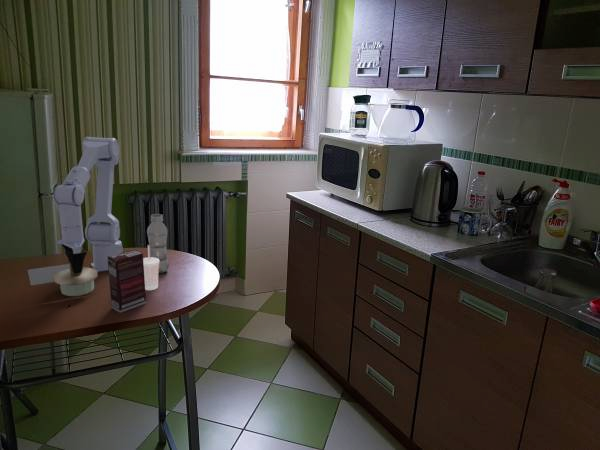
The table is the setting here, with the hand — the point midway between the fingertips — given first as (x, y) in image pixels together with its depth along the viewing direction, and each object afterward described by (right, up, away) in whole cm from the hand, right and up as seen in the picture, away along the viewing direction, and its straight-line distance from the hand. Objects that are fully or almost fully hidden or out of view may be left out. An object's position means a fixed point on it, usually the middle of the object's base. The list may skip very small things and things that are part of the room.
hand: (75, 268), depth 141 cm
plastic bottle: (+19, -3, +19) cm, 27 cm away
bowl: (0, -7, +2) cm, 7 cm away
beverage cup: (+20, -7, +7) cm, 22 cm away
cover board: (0, -3, +1) cm, 3 cm away
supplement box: (+18, -10, -6) cm, 22 cm away
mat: (-13, -3, +12) cm, 18 cm away
